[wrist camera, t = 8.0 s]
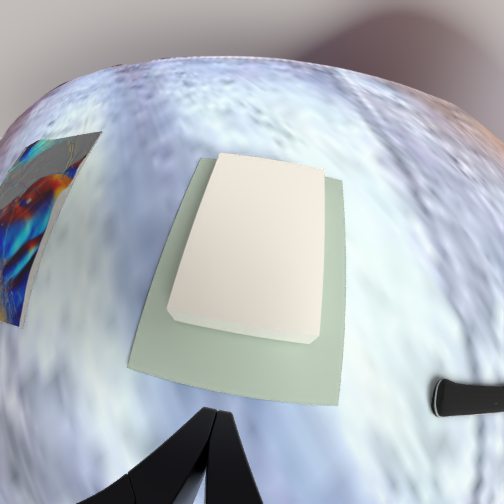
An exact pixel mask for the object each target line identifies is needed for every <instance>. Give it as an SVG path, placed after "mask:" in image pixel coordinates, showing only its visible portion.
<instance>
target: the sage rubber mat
mask: <svg viewBox="0 0 504 504" xmlns="http://www.w3.org/2000/svg"><path fill="white" fill-rule="evenodd" d="M216 162H217V160H215V159H206V158H201V159H200V162H199V164H198V166H197V168H196V171H195V173H194V175H193V177H192V180H191V182H190V184H189V187H188V189H187V191H186V194H185V196H184V198H183V201H182V203H181V206H180V208H179V211H178V213H177V216H176V218H175V221H174V223H173V226H172V228H171V231H170V234H169V236H168V239H167V241H166V244H165V247H164V250H163V252H162V255H161V258H160V261H159V264H158V266H157V269H156V272H155V275H154V278H153V281H152V284H151V287H150V290H149V293H148V296H147V299H146V303H145V306H144V309H143V312H142V316H141V319H140V322H139V326H138V329H137V333H136V336H135V340H134V343H133V347H132V351H131V355H130V359H129V362H128V366H127V368H130V369H133V370H136V371H139V372H142V373H145V374H149V375H152V376H155V377H159V378H162V379H166V380H170V381H173V382H177V383H181V384H185V385H189V386H193V387H197V388H202V389H206V390H211V391H216V392H221V393H226V394H231V395H237V396H243V397H249V398H256V399H263V400H270V401H278V402H287V403H298V404H310V405H327V406H338V400H339V391H340V382H341V372H342V360H343V347H344V330H345V305H346V242H345V217H344V200H343V186H342V180H337V179H332V178H328V177H324V179H325V242H324V273H323V293H322V308H321V322H320V334H319V337H317V338H316V339H315V340H314V341H313V342H311V343H310V344H303V343H295V342H288V341H281V340H274V339H268V338H261V337H255V336H249V335H243V334H238V333H232V332H227V331H222V330H216V329H211V328H206V327H202V326H197V325H192V324H188V323H183V322H179V321H175V320H174V319H173V317H172V316H171V315H170V313H169V312H168V311H167V305H168V302H169V298H170V295H171V291H172V288H173V285H174V281H175V278H176V275H177V272H178V269H179V265H180V262H181V259H182V256H183V253H184V250H185V247H186V244H187V241H188V238H189V235H190V232H191V229H192V226H193V223H194V220H195V218H196V215H197V212H198V209H199V206H200V204H201V201H202V198H203V195H204V193H205V190H206V187H207V185H208V182H209V180H210V177H211V174H212V172H213V169H214V167H215V164H216Z"/></svg>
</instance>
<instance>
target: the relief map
mask: <svg viewBox="0 0 504 504" xmlns="http://www.w3.org/2000/svg"><path fill="white" fill-rule="evenodd" d="M102 133H103V132H102V131H101V132H95V133H89V134H83V135H77V136H72V137H66V138H61V139H55V140H47V139H42V140H38V141H36V142H35V143H33V144H31V145H29V146H28V147H25V149H24V150H23V152H22V153H21V154H20V156H19V157H18V159H17V160H16V162H15V163H14V165H13V166H12V168H11V169H10V170H9V172H8V174H7V175H6V177H5V179H4V181H3V183H2V184H1V186H0V322H2V323H5V324H9V325H12V326H15V327H18V328H22V329H23V325H24V320H25V315H26V311H27V307H28V303H29V299H30V295H31V291H32V287H33V284H34V281H35V277H36V274H37V271H38V268H39V264H40V261H41V258H42V256H43V253H44V250H45V247H46V244H47V242H48V239H49V237H50V234H51V231H52V229H53V226H54V224H55V222H56V219H57V217H58V215H59V212H60V210H61V208H62V206H63V204H64V201H65V199H66V197H67V195H68V193H69V191H70V189H71V187H72V185H73V183H74V181H75V179H76V177H77V175H78V173H79V172H80V170H81V168H82V166H83V164H84V162H85V161H86V159H87V157H88V155H89V154H90V152H91V150H92V149H93V147H94V145H95V144H96V142H97V140H98V139H99V137H100V136H101V134H102Z"/></svg>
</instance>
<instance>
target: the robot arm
mask: <svg viewBox="0 0 504 504" xmlns="http://www.w3.org/2000/svg"><path fill="white" fill-rule="evenodd" d="M205 472H206V477H205V493H204V504H263V501H262V499H261V496H260V493H259V491H258V488H257V485H256V483H255V480H254V477H253V474H252V472H251V469H250V466H249V463H248V460H247V457H246V454H245V451H244V448H243V445H242V442H241V439H240V436H239V433H238V430H237V427H236V424H235V421H234V417H233V414H232V413H231V412H227V411H222V410H219V411H218V412H217V410H216V409H212V408H208V407H203V408H202V409H201V410H199V411H198V412H197V413H196V414H195V415H194V416H193V417H192V418H191V419H190V420H189V421H188V422H187V423H185V424H184V425H183V426H182V427H181V428H180V429H179V430H178V431H177V432H175V433H174V434H173V435H172V436H171V437H170V438H169V439H167V440H166V441H165V442H164V443H163V444H162V445H160V446H159V447H158V448H157V449H156V450H155V451H153V452H152V453H151V454H150V455H149V456H147V457H146V458H145V459H144V460H143V461H141V462H140V463H139V464H138V465H136V466H135V467H134V468H133V469H131V470H130V471H129V472H128V474H125V475H123V476H122V477H121V478H120V479H118V480H117V481H115V482H114V483H113V484H111V485H110V486H108V487H107V488H105V489H104V490H102V491H100V492H98V493H97V494H95V495H93V496H91V497H89V498H87V499H85V500H83V501H81V502H79V503H77V504H193V502H194V500H195V497H196V495H197V492H198V490H199V488H200V485H201V483H202V480H203V477H204V475H205Z"/></svg>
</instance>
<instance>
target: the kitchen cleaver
mask: <svg viewBox="0 0 504 504" xmlns="http://www.w3.org/2000/svg"><path fill="white" fill-rule="evenodd" d="M432 410H433V412H434V414H435V416H437V417H440V418H445V417H453V416H470V415H482V414H494V413H503V412H504V386H501V387H493V386H473V385H463V384H457V383H454V382H452V381H449V380H447V379H442V380H440V381H439V382H438V383H437V385H436V386H435V389H434V393H433V398H432Z"/></svg>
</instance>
